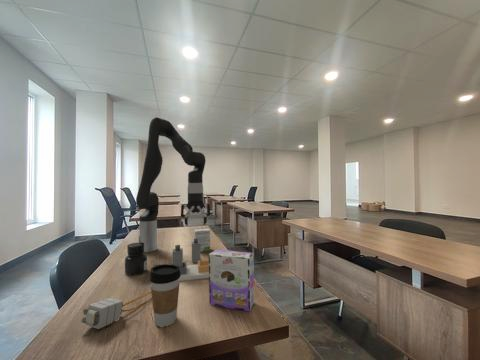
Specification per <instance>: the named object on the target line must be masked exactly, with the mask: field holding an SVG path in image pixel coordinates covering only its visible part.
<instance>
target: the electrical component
mask: <svg viewBox="0 0 480 360" xmlns="http://www.w3.org/2000/svg"><path fill="white" fill-rule="evenodd" d="M149 294H152V293H151V291H150V292H148V293H145V294H143V295H141V296H138V297H136V298H134V299H132V300H130V301H128V302H126V303H124V301H123V300H121V299H116V298H112V297H109V298H105V299H103V300H100V301H97V302H94V303H91V304H88V307H85V308H84V309H83V310H82V313H83V315H84V317H82V320H81V322H80V323H83V324H85V325H86V326H88V327H92V328H94V329H97V330H99V329H102V328H104V327H106V326H108V325H111V324H113V323H114V322H113V321H116V320H118V319H120V320H121V316H122V314H123V312H130V311H133V310H135V309H137V308H139V307H141V306H143V305H145V304H146V302H147V303H148V302H149V301H151V300H152V297H150V298H149V299H147V301H145V302H143V303H140V305H137V306H135V307H132V308H130V309H123V307H124V306H127V305H130V304H131V303H133V302H136V301H137V300H139V299H142V298H144V297H146V296H148V295H149ZM144 303H145V304H144ZM142 304H143V305H142ZM118 321H119V320H118ZM112 322H113V323H112ZM116 322H117V321H116ZM110 323H111V324H110Z"/></svg>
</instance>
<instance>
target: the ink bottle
mask: <svg viewBox="0 0 480 360" xmlns="http://www.w3.org/2000/svg"><path fill="white" fill-rule="evenodd" d="M126 247H127V248H126V249H127V251H126V252H127V256H125V257H124V273H125V275H127V276H132V277H133V276H139V275H142V274H144V273H146V272H147V271H148V256H147V254H146V253H144V243H141V242H139V241H138V242H131V243H129V244H127V245H126Z"/></svg>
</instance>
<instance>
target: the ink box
mask: <svg viewBox="0 0 480 360" xmlns="http://www.w3.org/2000/svg"><path fill="white" fill-rule="evenodd" d="M193 231H194V236H193V239H194V238H198V242H199V241H200V253H201V252H210V251H211V230H210V229H209V228H203V229H194V230H193Z"/></svg>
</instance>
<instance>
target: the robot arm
mask: <svg viewBox="0 0 480 360" xmlns="http://www.w3.org/2000/svg"><path fill="white" fill-rule="evenodd" d="M148 126H149V128H148V139H147V148H146V152H145V159H144V163H143V164H144V165H143V170H142V175H141V179H140V184H139V187H138V190H137V195H136V199H135V202H136V203H135V204H136V207H137V208H138V210H139V209H140V210H144V212H143V213H142V214H140V215H139V218H138V219H139V235H138V242H141V243H144V253H145V254H146V253H152V252H155V251H157V250H158V219H157V218H158V215H159V206H160V205H159V203H160V201H159V196H158V194H157V193H156V192H154V191H151V189H152V187H153V184H154V183H155V181H156V179H158V177H159V175H160V174H161V171H162V167H163V162H164V161H163V156H162V152H161V150H160V146H159V139H160V137H165V138H167V139H168V140H170V141H171V144H172V147H173V148H174V149H175V150H176V152H177V153H178V154H180V156H181V159H182V160H183V163H185V164H186V165H187V166H190V167H193V170H191V171H188V173H187V204H186V203H185V204H184V203H181V206H180V208H181V209H180V217H182V218H184V225H185V226H188V223H189V220H188V218H189V215H190V214H191V213H192V214H195V213H201V215H203V225H204V226H205V225H206V224H207V221H208V216H211V205H210V202H207V203H204V185H203V184H204V183H203V174H204V171H205V166H206V157H205V154H204V153H202V152H198V151H193V147H192V145H191V144H190V143H189V142H188V141H187V140H186V139H184V137H183V136H181V135H180V133H179V132H178V131H177V130H176V128H175V127H174V125H173V124H172V123H171V122H170V121H168V120H166V119H164V118H160V117H157V116H155V117H154V116H153V118H151V120H150V123H149V125H148ZM204 207H205V208H206V210H207V211H206V212H205V211H204V210H203V209H204ZM186 208H187V209H188V210H187V212H186V213H185V212H184V210H185V209H186Z"/></svg>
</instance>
